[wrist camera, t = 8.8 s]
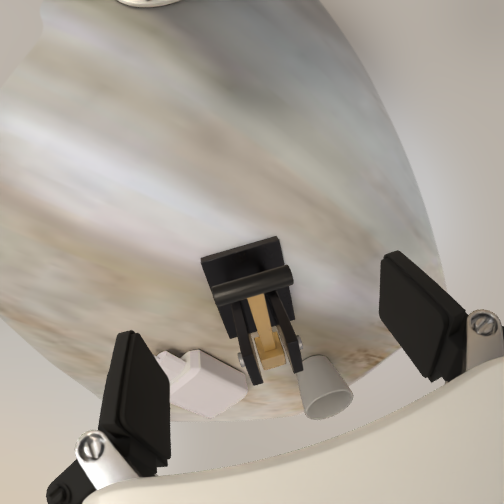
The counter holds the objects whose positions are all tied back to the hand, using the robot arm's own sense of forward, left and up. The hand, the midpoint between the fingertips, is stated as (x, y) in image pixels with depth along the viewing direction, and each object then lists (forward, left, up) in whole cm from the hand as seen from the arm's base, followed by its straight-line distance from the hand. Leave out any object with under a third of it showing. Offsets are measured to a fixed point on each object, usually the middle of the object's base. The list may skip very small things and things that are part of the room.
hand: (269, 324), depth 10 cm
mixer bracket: (+13, +5, -22) cm, 26 cm away
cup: (+29, +18, -23) cm, 41 cm away
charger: (+27, -3, -23) cm, 35 cm away
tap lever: (+8, +3, -11) cm, 13 cm away
